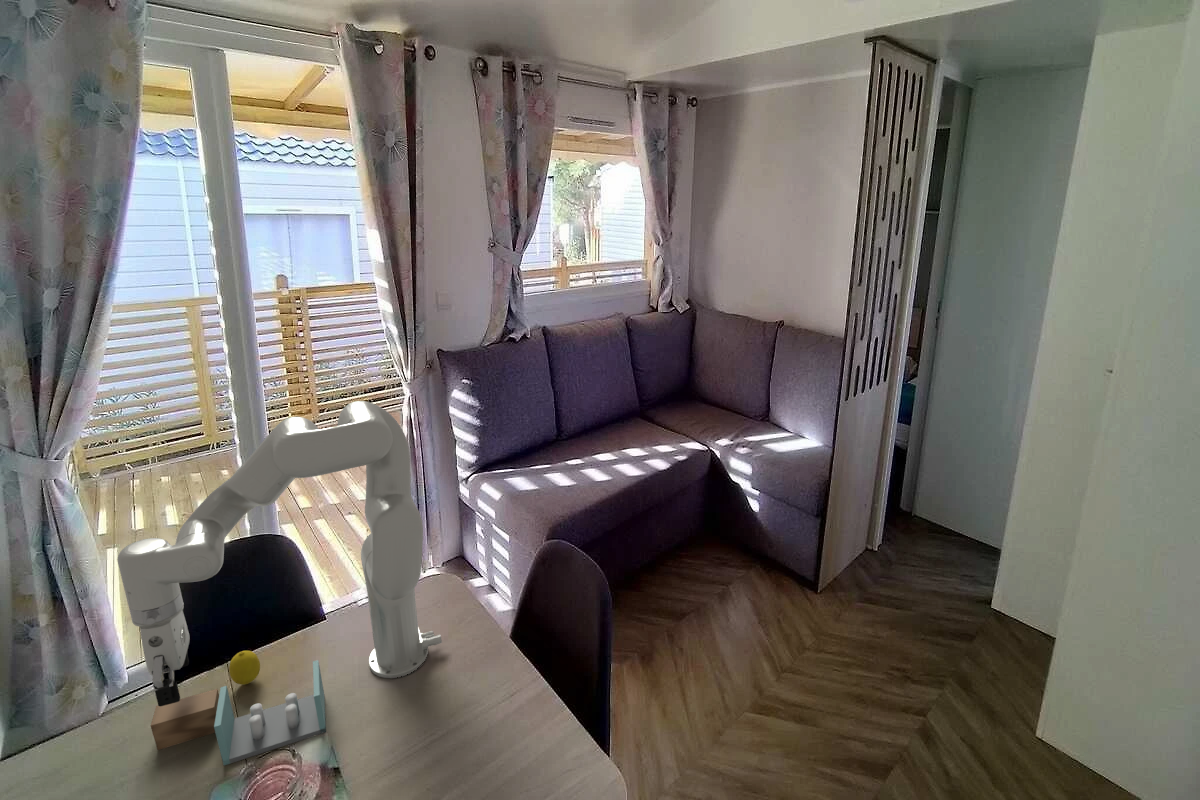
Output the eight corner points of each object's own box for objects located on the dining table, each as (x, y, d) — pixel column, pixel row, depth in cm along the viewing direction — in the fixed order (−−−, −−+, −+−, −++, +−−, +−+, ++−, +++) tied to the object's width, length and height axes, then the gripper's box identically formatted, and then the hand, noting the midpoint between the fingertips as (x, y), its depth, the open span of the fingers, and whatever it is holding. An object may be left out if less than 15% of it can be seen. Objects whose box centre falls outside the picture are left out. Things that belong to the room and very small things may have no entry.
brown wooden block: (223, 712, 119) (217, 688, 117) (220, 731, 115) (214, 707, 113) (163, 730, 115) (156, 705, 113) (157, 750, 111) (150, 725, 109)
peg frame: (324, 695, 123) (318, 659, 120) (326, 731, 114) (319, 694, 112) (229, 724, 116) (220, 687, 113) (223, 765, 107) (214, 726, 105)
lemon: (249, 695, 123) (242, 663, 120) (226, 690, 124) (219, 659, 122) (269, 675, 128) (262, 645, 126) (246, 671, 129) (240, 641, 127)
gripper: (173, 630, 100) (191, 711, 105) (189, 575, 115) (204, 649, 120) (117, 642, 97) (139, 725, 102) (142, 584, 112) (159, 659, 117)
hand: (174, 684), depth 111 cm, fingers open, 9 cm apart
